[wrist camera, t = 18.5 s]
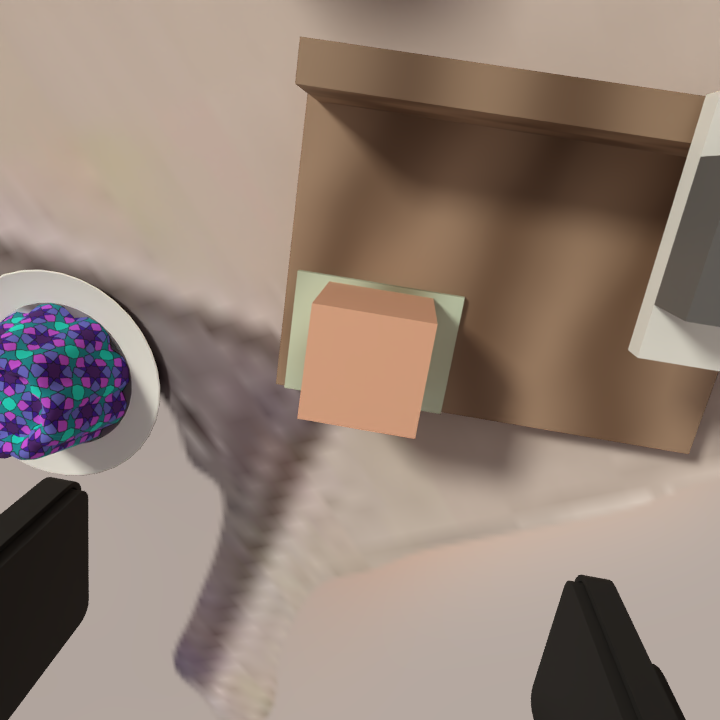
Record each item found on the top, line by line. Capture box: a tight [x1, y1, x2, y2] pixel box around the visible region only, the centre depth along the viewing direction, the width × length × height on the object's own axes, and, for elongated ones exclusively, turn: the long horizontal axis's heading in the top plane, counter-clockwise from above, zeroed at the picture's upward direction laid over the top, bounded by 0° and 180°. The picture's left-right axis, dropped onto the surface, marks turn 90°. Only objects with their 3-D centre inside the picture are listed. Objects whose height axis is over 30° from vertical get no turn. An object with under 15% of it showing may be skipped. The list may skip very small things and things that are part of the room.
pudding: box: [0, 270, 160, 475], centre depth 30 cm, size 12×12×5 cm
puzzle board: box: [276, 37, 719, 454], centre depth 25 cm, size 21×15×7 cm
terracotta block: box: [298, 281, 438, 439], centre depth 26 cm, size 5×5×5 cm
